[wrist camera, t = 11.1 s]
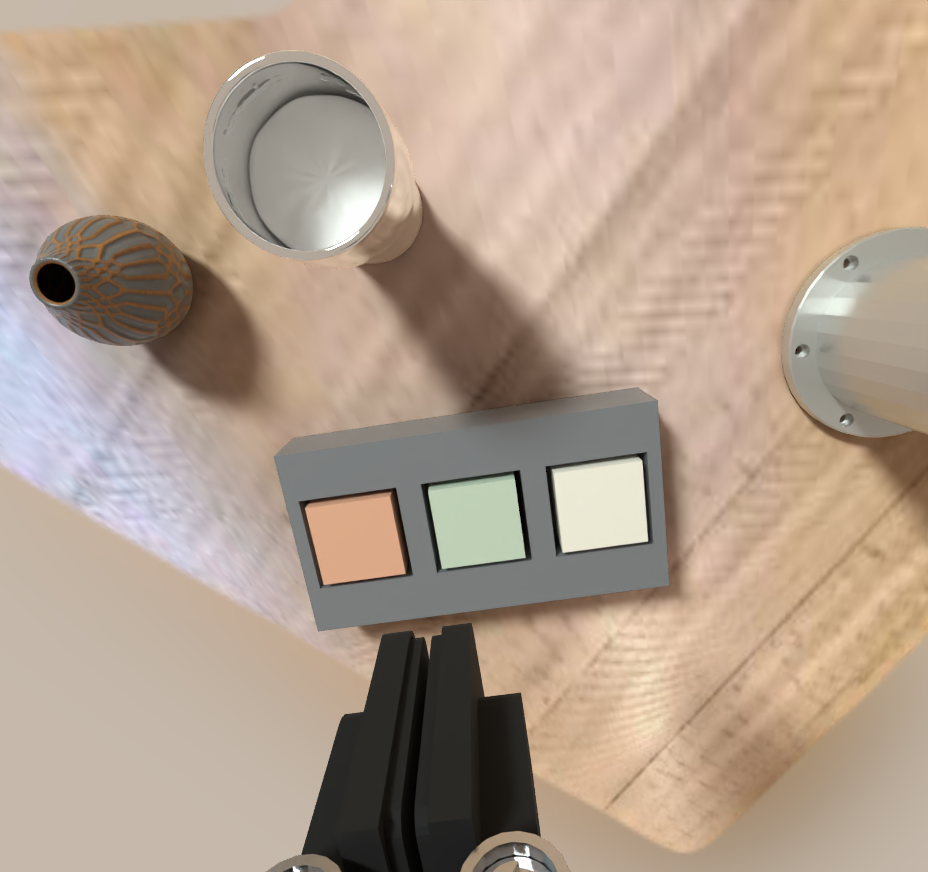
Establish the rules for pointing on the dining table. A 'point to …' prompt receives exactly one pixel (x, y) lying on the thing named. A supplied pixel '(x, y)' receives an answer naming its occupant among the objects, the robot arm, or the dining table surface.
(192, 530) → the dining table surface
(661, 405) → the dining table surface
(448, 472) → the button panel
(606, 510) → the cream button
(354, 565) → the terracotta button
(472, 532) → the sage button
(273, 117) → the beer glass
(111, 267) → the vase
